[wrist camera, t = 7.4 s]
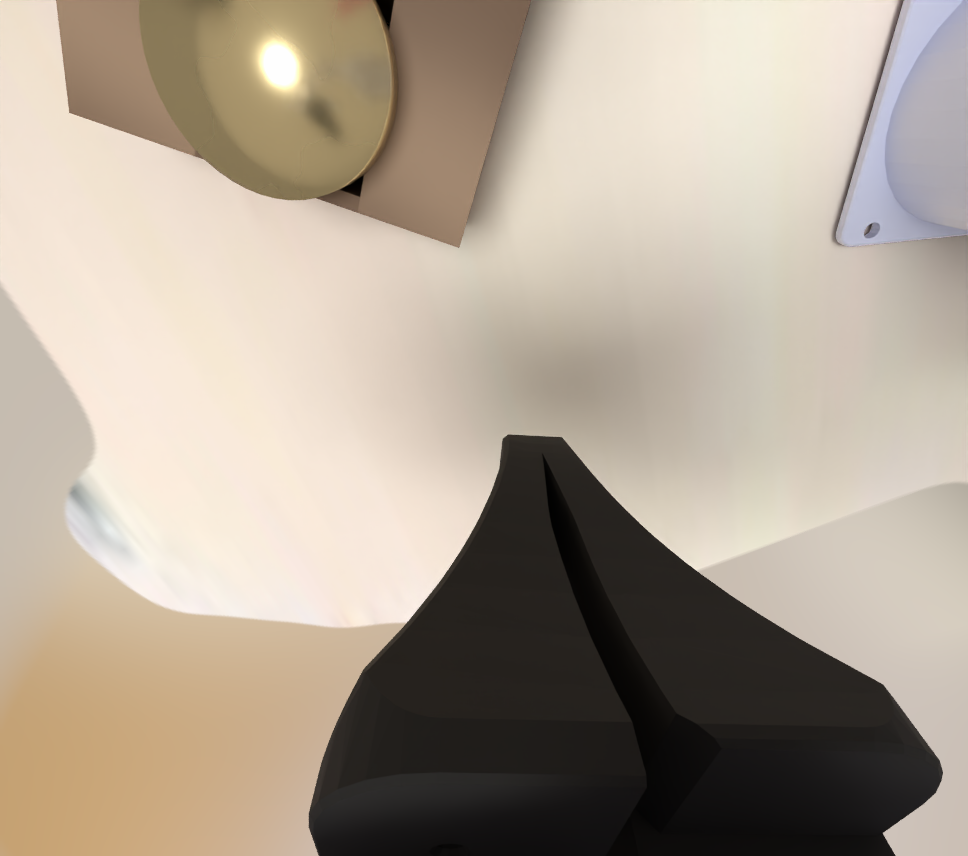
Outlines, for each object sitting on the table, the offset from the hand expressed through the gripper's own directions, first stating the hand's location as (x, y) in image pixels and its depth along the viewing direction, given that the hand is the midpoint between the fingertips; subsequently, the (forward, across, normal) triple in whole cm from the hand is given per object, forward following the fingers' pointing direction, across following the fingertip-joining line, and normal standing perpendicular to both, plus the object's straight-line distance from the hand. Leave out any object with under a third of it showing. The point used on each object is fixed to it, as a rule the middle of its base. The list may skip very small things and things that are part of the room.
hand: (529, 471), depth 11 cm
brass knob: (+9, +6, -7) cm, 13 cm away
